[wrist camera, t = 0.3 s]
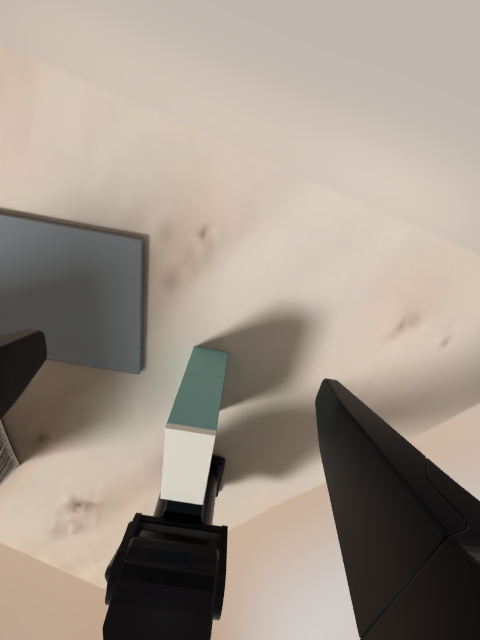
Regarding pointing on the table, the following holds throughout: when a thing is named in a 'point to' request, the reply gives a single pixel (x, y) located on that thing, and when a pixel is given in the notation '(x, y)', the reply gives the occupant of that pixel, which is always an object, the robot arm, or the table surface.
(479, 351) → the table surface
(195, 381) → the slab
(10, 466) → the protein powder
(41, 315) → the mat
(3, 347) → the robot arm
